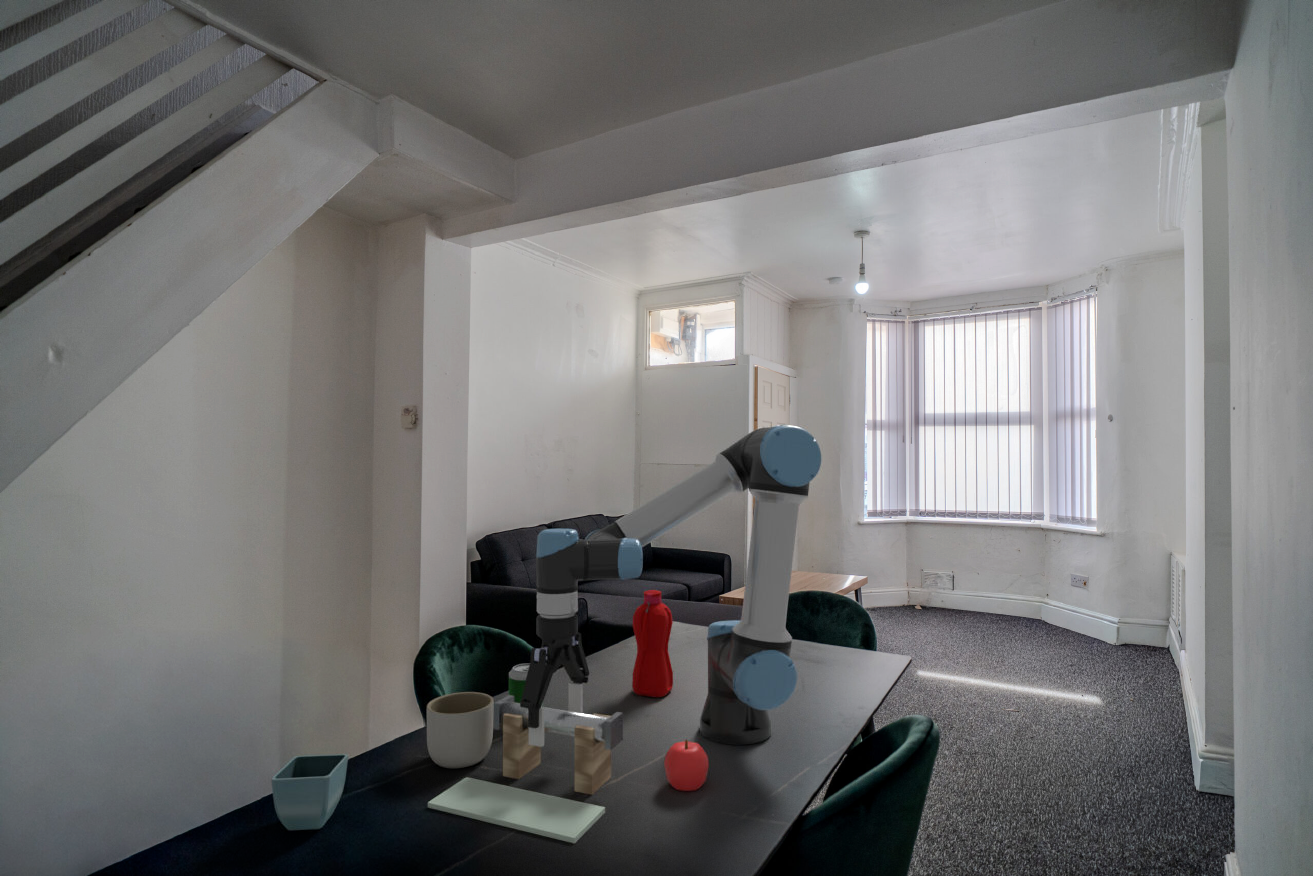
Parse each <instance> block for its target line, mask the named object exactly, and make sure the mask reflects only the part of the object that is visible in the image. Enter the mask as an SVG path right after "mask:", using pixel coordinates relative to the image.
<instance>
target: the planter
mask: <svg viewBox="0 0 1313 876" xmlns="http://www.w3.org/2000/svg"><path fill="white" fill-rule="evenodd" d="M494 703H495V702H494V698H493V696H491V695H489V694H487V693H483V692H476V691H464V692H463V691H461V692H453V693H449V694H448V693H447V694H444V695H441V696H438V697H435V698H434V699H432V700H430V701H429V702H428V703H427V704H426V745H427V746H426V747H427V750H428V754H429V756H430V758H431V760H432V761H433V762H434V763H435V764H436V765H438V766H439V767H441V768H446V769H463V768H467V767H471V766H474V765H476V764H478V763H479V762H481V761H482V760H483V759H484V758H486V756H487V755H488V754H489V752H490V749H491V746H492V744H493V735H494V734H493V733H494Z"/></svg>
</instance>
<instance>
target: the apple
mask: <svg viewBox="0 0 1313 876" xmlns="http://www.w3.org/2000/svg"><path fill="white" fill-rule="evenodd" d="M705 751H706V750H704V748H703V746H701V745H700V744H699V743H698V742H693V741H689V740H688V739H685V741H679V742H674V744H673V745H671V746H670V748H669V749H668V751H667V752H666V753H665V755H664V762H663V764H664V769H665V770H664V771H665V774H666V780H667V781H668V783H669V784H670V785H671V786H672V787H673V788H674V789H675V790H677V791H682V792H690V791H691V792H692V791H697V790H698V789H700V788H701V787H702V785H704V783H706V781H707V775H708V772H709V771H708V770H709V766H710V762H709V757H708V755H707V753H706V752H705Z"/></svg>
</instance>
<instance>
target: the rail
mask: <svg viewBox="0 0 1313 876" xmlns="http://www.w3.org/2000/svg"><path fill="white" fill-rule="evenodd" d="M543 707H544V732H548V733H554V734H561V735H566V736H570V737H575V727H576V726H577V725H579V726H585V727H591V728H595V740H598V741H604V742H605V749H606V750H611V751H612V750H613V749H614V748H615V747H616V746H617V745H619V744H620V743H622V741H623V740H624V726H623V725H624V721H623V720H624V719H623V718H624V713H623V712H621V711H616V712H615V713H613V714H612V715H610V716H611V717H603V716H596V715H593V714H591V713H589V714H588V713H584V712H583V713H578V712H572V711H568V710H565V709H564V710H563V709H558V708H552V707H545V706H543ZM506 713H508V714H514V715H520V716H522V727H524V728H529V726H528V722H529V721H528V708H523V707H520V703H515V702H514V696H512V695H509V694H507V695H506V696H504V697H503V698H500V699H498V700H496V701H495V702H494V707H493V730H495V731H496V730H497V731H500V730H503V715H504V714H506Z"/></svg>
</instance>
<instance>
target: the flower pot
mask: <svg viewBox="0 0 1313 876" xmlns="http://www.w3.org/2000/svg"><path fill="white" fill-rule="evenodd" d="M348 762H349V754H348V753H340V754H339V753H337V754H316V755H296V756H294V757H292V758H291V759H289V761H288V762H287V763H285V765H284V766H283V767H282V768H280V770H279V771H277V772H276V773H275V774H274V775H273V777H272V778H270V781H271V788H272V798H273V804H274V810H275V813H276V815H277V818H278V820H279V822H281V824H282V825H283V826H284V828H286V830H288V831H301V830H303V831H304V830H306V831H307V830H319V829H320V830H321V828H323V826H325V824H326V823H327V821H328V820H329V819H330V818H331V816H332V815H333V814H334V812H335V809H336V808H337V805H338V804H339V801H340V800H341V797H342V795H343V792H344V787H345V783H346V776H347V769H348V768H347V767H348Z"/></svg>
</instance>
